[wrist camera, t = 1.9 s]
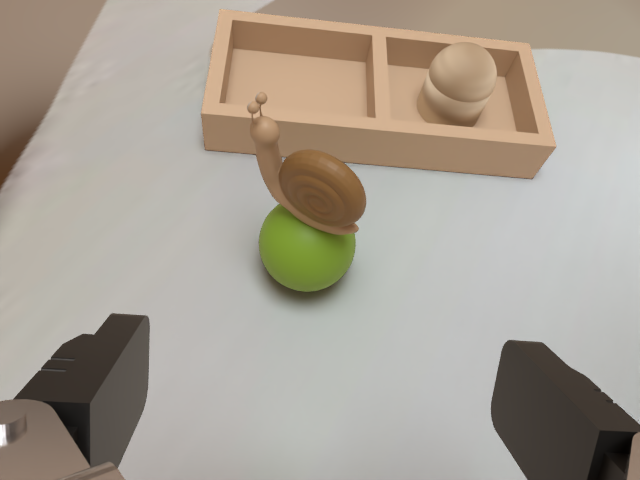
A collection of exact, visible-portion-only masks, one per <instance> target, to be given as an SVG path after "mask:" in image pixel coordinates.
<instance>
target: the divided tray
mask: <svg viewBox="0 0 640 480" xmlns="http://www.w3.org/2000/svg"><path fill="white" fill-rule="evenodd" d="M459 42H471V43H475V44H477V45H480V46H481V47H483V48H484V49H486V50H487V51H488V52H489V54H490V55H491V56H492V58H493V60H494V62H495V65H496V70H497V79H496V84H495V87H494V90H493V92H492V94H491V96H490V97H489V99H488V101H487V103H486V105H485V107H484V109H483V111H482V113H481V114H480V116H479V118H478V120H477V122H476V124H475V125H474V126H473V127H463V126H453V125H442V124H432V123H427V122H426V121H425V120H424V119H423V118H422V117H421V115H420V114H419V112H418V109H417V100H418V97H419V94H420V92H421V89H422V86H423V84H424V81H425V78H426V76H427V73H428V70H429V67H430V65H431V63H432V61H433V59H434V58H435V57H436V55H437V54H438V53H439V52H440V51H442V50H443V49H444V48H446V47H447V46H449V45H452V44H455V43H459ZM259 92H264V93H265V94H266V95H267V102H266V103H265V104H262V105H261V112H262V115H263V116H267V117H270V118H272V119H273V120H274V121H275V122H276V123H277V125H278V126H279V129H280V137H279V140H278V146H279V150H280V154H281V157H288V156H289V155H291V154H292V153H293V152H296V151H299V150H306V149H312V150H318V151H322V152H325V153H328V154H330V155H332V156H334V157H336V158H337V159H339V160H340V161H342V162H348V163H359V164H371V165H382V166H393V167H404V168H416V169H427V170H438V171H450V172H461V173H472V174H483V175H495V176H506V177H517V178H529V179H532V178H533V177H534V176H535V174H536V173H537V172H538V170H539V169H540V168H541V167H542V165H543V164H544V163H545V161H546V160H547V159H548V157H549V156H550V155H551V153H552V152H553V151H554V149H555V148H556V143H555V140H554V136H553V132H552V128H551V124H550V120H549V117H548V113H547V109H546V105H545V101H544V98H543V94H542V90H541V86H540V82H539V78H538V75H537V71H536V67H535V63H534V59H533V56H532V52H531V48H530V44H528V43H519V42H511V41H510V42H509V41H501V40H493V39H484V38H475V37H465V36H457V35H447V34H438V33H429V32H420V31H412V30H402V29H394V28H384V27H376V26H367V25H358V24H349V23H339V22H331V21H322V20H313V19H304V18H295V17H286V16H277V15H268V14H258V13H250V12H242V11H233V10H224V9H220V10H219V16H218V21H217V27H216V33H215V38H214V44H213V49H212V55H211V60H210V66H209V72H208V77H207V83H206V88H205V94H204V99H203V105H202V111H201V118H202V127H203V136H204V145H205V150H213V151H224V152H235V153H246V154H256V149H255V143H254V141H253V139H252V138H251V136H250V124H251V122H252V117H251V113H249V112H248V110H247V106H248V104H249V103H250V102H251V101H255V97H256V95H257V94H258V93H259ZM255 102H256V101H255ZM259 116H260V110H259V111H258V112H257V113H256V114H253V119H255V118H256V117H259Z"/></svg>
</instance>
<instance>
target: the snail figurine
mask: <svg viewBox="0 0 640 480" xmlns="http://www.w3.org/2000/svg"><path fill="white" fill-rule="evenodd" d="M255 101H256V102H255ZM255 101H251V102H250V103H249V104H248V106H247V110H248V112H249V113H251V117H252V122H251V124H250V136H251V138H252V139H253V141H254V143H255V149H256V157H257V161H258V165H259V168H260V172H261V175H262V177H263V180H264V182H265V184H266V186H267V188H268V190H269V191H270V193H271V195H272V196H273V197H274V199H275V200H276V201H277V202H278V203H279V205H277V206H276V207H275V208H274V209H273V210H272V211H271V212H270V213H269V215H268V216H267V217H266V219H265V221H264V223H263V225H262V228H261V231H260V236H259V251H260V256H261V259H262V262H263V264H264V266H265V268H266V269H267V271H268V272H269V273H270V275H271V276H272V277H273V278H274V279H275V280H276V281H278V282H279V283H280V284H282V285H284V286H286V287H288V288H290V289H293V290H297V291H304V292H310V291H317V290H321V289H324V288H327V287H329V286H331V285H332V284H334V283H335V282H337V281H338V280H339V279H340V278H341V277H342V276H343V275H344V274H345V273H346V271H347V270H348V268H349V267H350V265H351V262H352V260H353V257H354V253H355V234H354V233H355V232H357V231H358V229H359V228H358V226H357V225H356V224H355V222H356V221H357V220H359V219H360V218H361V216H362V215H363V213H364V210H365V207H366V195H365V191H364V188H363V186H362V184H361V182H360V180H359V179H358V177H357V176H356V174H355V173H354V172H353V171H352V170H351V169H350V168H349V167H348V166H347V165H346V164H344V163H343V162H342V161H340V160H339V159H337V158H336V157H334V156H332V155H330V154H328V153H325V152H322V151H318V150H312V149H306V150H299V151H296V152H293V153H292V154H291V155H289V156H288V157H287V158H286V159H285V160H284V162H282V158H281V154H280V150H279V146H278V140H279V137H280V129H279V126H278V125H277V123H276V122H275V121H274V120H273V119H272V118H270V117H267V116H263V115H262V112H261V105H262V104H265V103H266V102H267V95H266V94H265V93H264V92H259V93H258V94H257V95H256V97H255ZM259 110H260V116H259V117H256V118H255V119H253V114H256V113H257V112H258V111H259Z"/></svg>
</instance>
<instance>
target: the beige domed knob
mask: <svg viewBox="0 0 640 480" xmlns="http://www.w3.org/2000/svg"><path fill="white" fill-rule="evenodd" d="M496 79H497V70H496V65H495V62H494V60H493V58H492V56H491V55H490V54H489V52H488V51H487V50H486V49H484V48H483V47H481V46H480V45H477V44H475V43H471V42H459V43H455V44H452V45H449V46H447V47H446V48H444V49H443V50H442V51H440V52H439V53H438V54H437V55H436V57H435V58H434V59H433V61H432V63H431V65H430V67H429V70H428V73H427V76H426V78H425V81H424V84H423V86H422V89H421V92H420V94H419V97H418V100H417V109H418V112H419V114H420V115H421V117H422V118H423V119H424V120H425V121H426V122H427V123H432V124H442V125H453V126H463V127H473V126H474V125H475V124H476V122H477V120H478V118H479V116H480V114H481V113H482V111H483V109H484V107H485V105H486V103H487V101H488V99H489V97H490V96H491V94H492V92H493V90H494V87H495V84H496Z"/></svg>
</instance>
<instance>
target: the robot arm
mask: <svg viewBox="0 0 640 480" xmlns="http://www.w3.org/2000/svg"><path fill="white" fill-rule="evenodd" d="M149 333H150V325H149V318H148V316H145V315H130V314H115V313H112V314H111V315H110V316H109V317H108V318H107V319H106V321H105V322H104V323H103V324H102V326H101V327H100V328H99V329H98V331H97V332H96V333H95V335H92V334H82V335H80V336H78V337H76V338H74V339H72V340H70V341H68V342H66V343H64V344H62V346H61V347H60V348H59V349H58V350H57V351H56V352H55V353H54V354H53V356H52V357H51V360H48V361H47V362H46V363H45V364H44V366H43V367H42V368H41V371H38V372H37V373H36V374H35V376H34V377H33V378H32V379H31V380H30V381H29V382H28V383H27V384H26V386H25V387H24V388H23V389H22V390H21V391H20V392H19V393H18V394H17V396H16V397H15V398H14V399H13V400H5V401H0V480H125V479H124V478H123V476H122V475H121V473H120V472H119V470H118V466H119V464H120V462H121V460H122V457H123V455H124V453H125V451H126V448H127V446H128V444H129V442H130V439H131V437H132V435H133V433H134V430H135V428H136V426H137V424H138V421H139V419H140V417H141V415H142V412H143V410H144V406H145V402H146V397H147V391H148V373H149ZM491 416H492V422H493V425H494V428H495V430H496V432H497V433H498V435H499V436H500V438H501V439H502V441H503V443H504V444H505V446H506V447H507V449H508V450H509V452H510V453H511V455H512V456H513V458H514V459H515V461H516V462H517V464H518V466H519V467H520V469H521V470H522V472H523V473H524V475H525V476H526V478H527V479H528V480H640V425H639V424H638V423H637V422H636V421H635V420H634V419H633V418H632V417H631V416H630V415H628V414H627V413H626V412H625V411H624V410H623V409H622V408H621V407H620V406H618V405H617V404H616V403H613V400H612V399H611V398H610V397H608V396H607V395H606V394H605V393H604V392H601V389H600V388H598V387H597V386H596V385H595V384H594V383H593V382H592V381H591V380H590V379H589V378H587V377H586V376H585V375H583V374H581V373H579V372H577V371H576V370H574V369H572V368H570V367H569V366H568V365H567V364H565V363H564V362H563V361H562V360H561V359H560V358H559V357H558V356H557V355H556V354H555V353H554V352H552V351H551V350H550V349H549V348H548V347H547V346H546V345H545V344H544V343H542V342H531V341H516V340H509V341H507V342H506V343H505V344H504V346H503V349H502V352H501V357H500V362H499V367H498V372H497V377H496V382H495V387H494V392H493V397H492V402H491Z"/></svg>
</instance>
